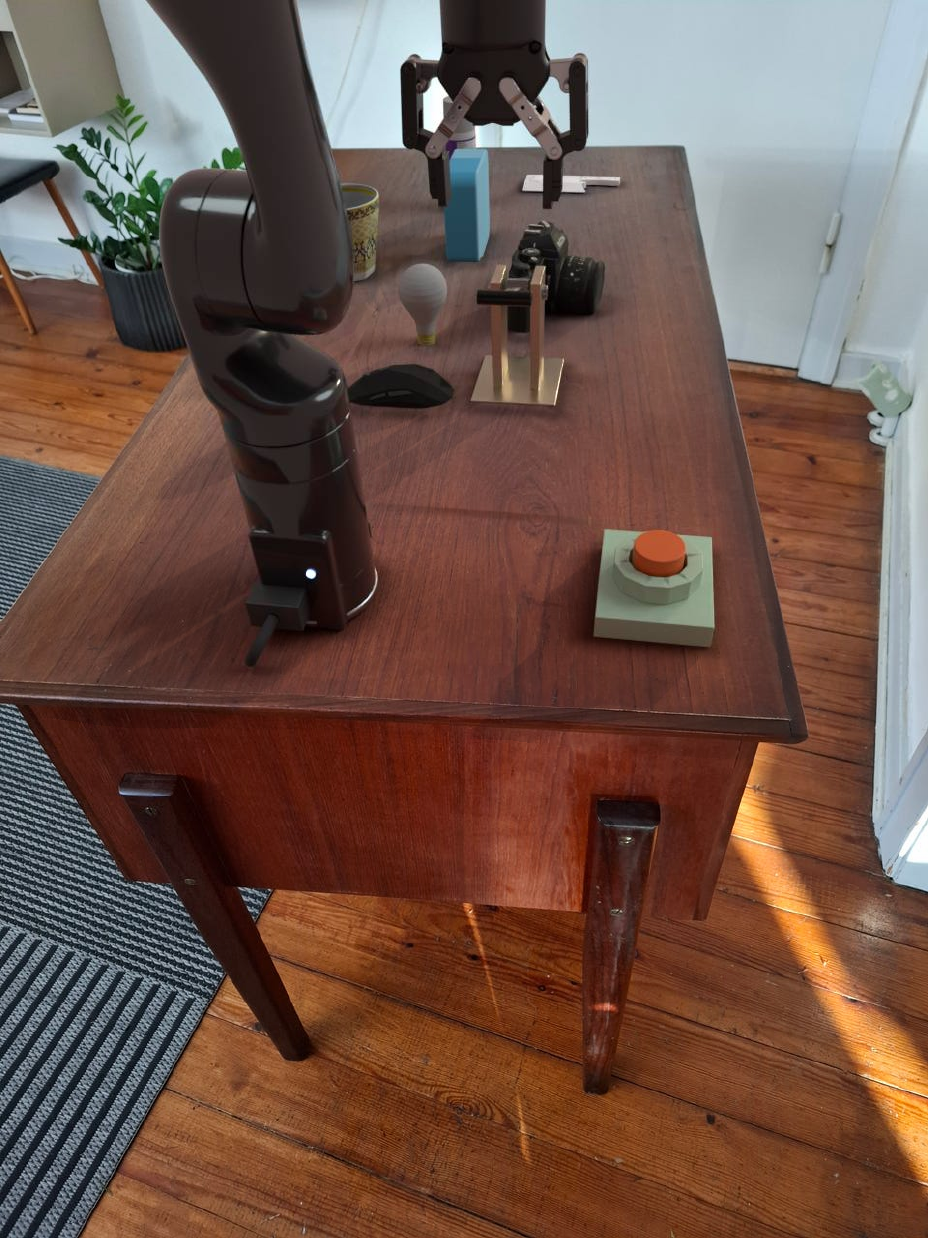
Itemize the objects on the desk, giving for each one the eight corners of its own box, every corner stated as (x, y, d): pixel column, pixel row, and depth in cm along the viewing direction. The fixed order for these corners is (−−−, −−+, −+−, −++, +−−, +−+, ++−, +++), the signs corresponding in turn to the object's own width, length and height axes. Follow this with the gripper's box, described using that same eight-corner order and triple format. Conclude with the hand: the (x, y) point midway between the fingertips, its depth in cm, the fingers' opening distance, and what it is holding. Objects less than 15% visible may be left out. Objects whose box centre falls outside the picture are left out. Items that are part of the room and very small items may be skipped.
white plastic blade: (616, 193, 139) (617, 186, 139) (522, 191, 142) (522, 184, 141) (620, 182, 143) (620, 174, 142) (527, 180, 146) (527, 172, 145)
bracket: (554, 414, 94) (557, 297, 85) (470, 409, 96) (465, 294, 87) (563, 367, 101) (567, 254, 92) (485, 364, 103) (482, 252, 94)
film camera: (613, 342, 105) (619, 258, 98) (508, 347, 105) (507, 264, 98) (595, 279, 118) (600, 200, 111) (501, 283, 118) (500, 205, 111)
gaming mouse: (327, 384, 101) (322, 351, 98) (457, 386, 99) (455, 353, 97) (314, 414, 96) (308, 380, 94) (450, 416, 95) (448, 383, 92)
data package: (459, 234, 131) (455, 145, 122) (490, 234, 130) (488, 145, 122) (446, 268, 122) (441, 175, 114) (479, 268, 122) (476, 175, 113)
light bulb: (444, 361, 104) (439, 276, 97) (399, 358, 105) (390, 274, 98) (454, 339, 107) (449, 256, 100) (410, 336, 108) (403, 254, 101)
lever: (530, 313, 81) (531, 285, 80) (476, 311, 82) (476, 283, 81) (543, 303, 92) (544, 278, 91) (495, 302, 93) (496, 277, 92)
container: (443, 204, 140) (436, 97, 129) (470, 198, 141) (465, 92, 131) (455, 214, 137) (450, 104, 126) (482, 208, 138) (479, 99, 127)
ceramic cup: (396, 278, 121) (388, 201, 114) (325, 293, 118) (312, 215, 111) (367, 245, 130) (359, 171, 123) (301, 258, 127) (288, 184, 120)
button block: (710, 647, 69) (718, 610, 66) (593, 636, 70) (596, 599, 68) (708, 556, 77) (715, 519, 74) (602, 548, 78) (605, 511, 75)
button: (683, 580, 69) (686, 563, 68) (631, 576, 70) (633, 559, 69) (683, 548, 72) (686, 531, 71) (633, 544, 73) (635, 527, 72)
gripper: (378, -29, 60) (401, 220, 71) (591, -34, 58) (580, 224, 69) (403, -47, 65) (420, 187, 76) (599, -52, 63) (587, 190, 74)
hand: (496, 204), depth 73 cm, fingers open, 8 cm apart
